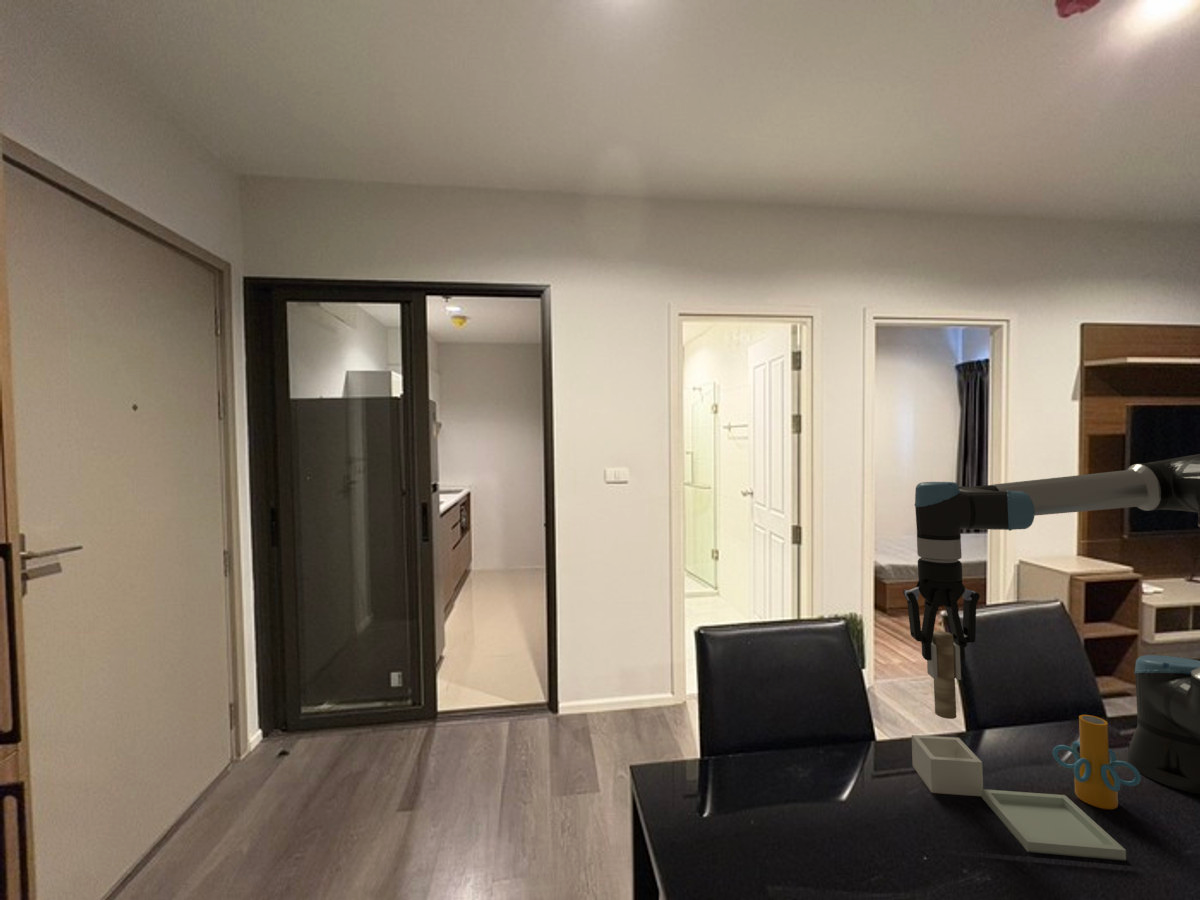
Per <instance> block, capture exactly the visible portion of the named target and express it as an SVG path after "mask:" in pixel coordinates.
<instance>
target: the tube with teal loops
mask: <svg viewBox="0 0 1200 900" xmlns="http://www.w3.org/2000/svg"><path fill="white" fill-rule="evenodd" d="M1078 723H1079V724H1078V727H1079V730H1078V731H1079V740H1078V741H1077V740H1075V741H1074V742H1073V743H1072V745H1071V746H1069V745H1067V744H1058V745H1056V746H1055V747H1054V748H1053V749H1052V756H1053V759H1054V760H1055V762H1057V763H1058V764H1059V765H1060V766H1062V767H1064V768H1066V769H1070V770H1073V776H1074V778H1073V781H1074V793H1075V796H1076V797H1077V798H1078V799H1079V800H1080V801H1082V802H1083V803H1086V804H1087V805H1090V806H1092V807H1095V808H1098V809H1101V810H1102V809H1103V810H1115V809H1117V808H1118V806H1119V796H1118V794H1119V793H1118V791H1119V790H1121V786H1122V785H1124V786H1127V787H1135V786H1138V785H1139V784H1140V783H1141V780H1142V778H1141V777H1142V776H1141V773H1140V772H1138V770H1137V769H1136V768H1135V767H1134V766H1132V765H1131V764H1129V763H1128V761H1124V760H1117V755H1116V753H1115V752H1114V751H1113V749H1111V748H1109V747H1110V746H1109V745H1110V744H1109V723H1108V721H1107V720H1105V719H1103V718H1101V717H1099V716H1095V715H1091V714H1090V715H1089V714H1081V715H1079V716H1078ZM1078 747H1079V752H1078ZM1062 750H1065V751H1069V752H1070V753H1071V754H1072V755H1073V757H1074V759H1075V762H1073V763H1071V764H1070V763H1066V762H1064V760H1062V759H1060V757H1059V755H1058V753H1059V751H1062ZM1118 766H1122V767H1126V768H1128V769H1129V770H1131V771H1132V772H1133V774H1134V778H1133V779H1132V780H1130V781H1129V780H1124V779H1122V778H1120V777H1119V775H1118V772H1117V770H1116V767H1118Z"/></svg>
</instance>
